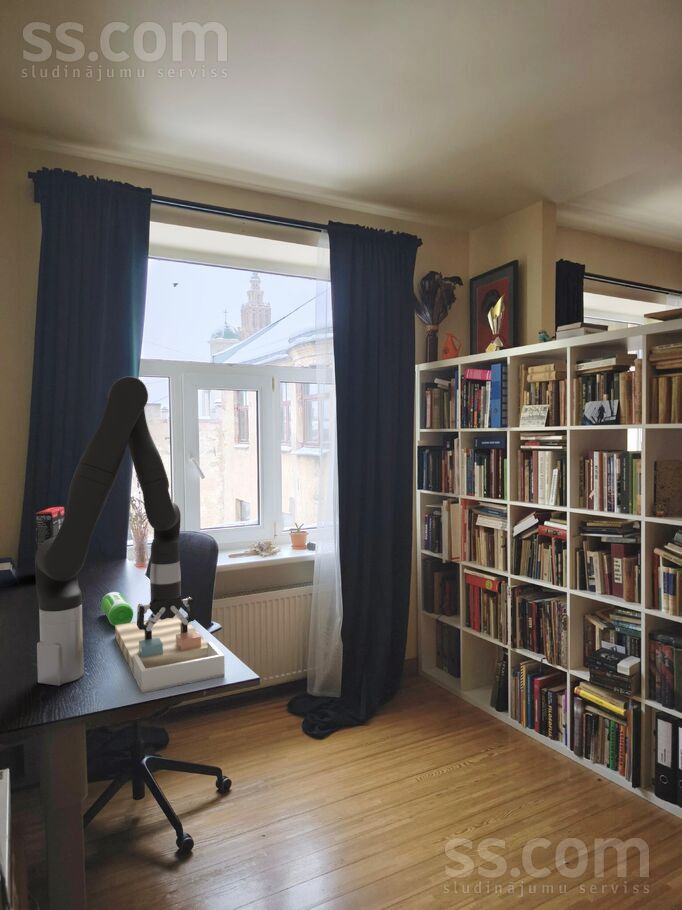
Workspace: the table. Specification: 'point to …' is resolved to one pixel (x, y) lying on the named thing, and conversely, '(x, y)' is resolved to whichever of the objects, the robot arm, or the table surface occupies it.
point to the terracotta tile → (188, 640)
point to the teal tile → (150, 647)
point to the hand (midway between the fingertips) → (166, 641)
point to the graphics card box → (48, 524)
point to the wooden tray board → (166, 631)
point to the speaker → (117, 608)
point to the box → (180, 671)
